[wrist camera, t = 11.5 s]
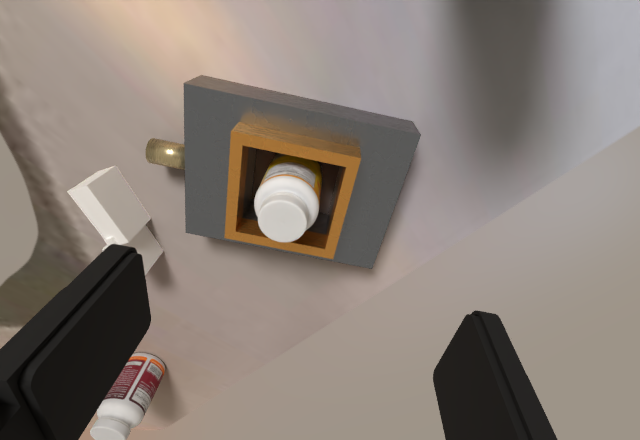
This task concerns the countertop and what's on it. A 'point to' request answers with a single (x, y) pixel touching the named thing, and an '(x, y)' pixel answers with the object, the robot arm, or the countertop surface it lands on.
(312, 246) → the grey bottle holder
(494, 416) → the robot arm
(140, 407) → the pill bottle
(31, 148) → the countertop surface
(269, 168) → the supplement bottle
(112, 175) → the white angular block
